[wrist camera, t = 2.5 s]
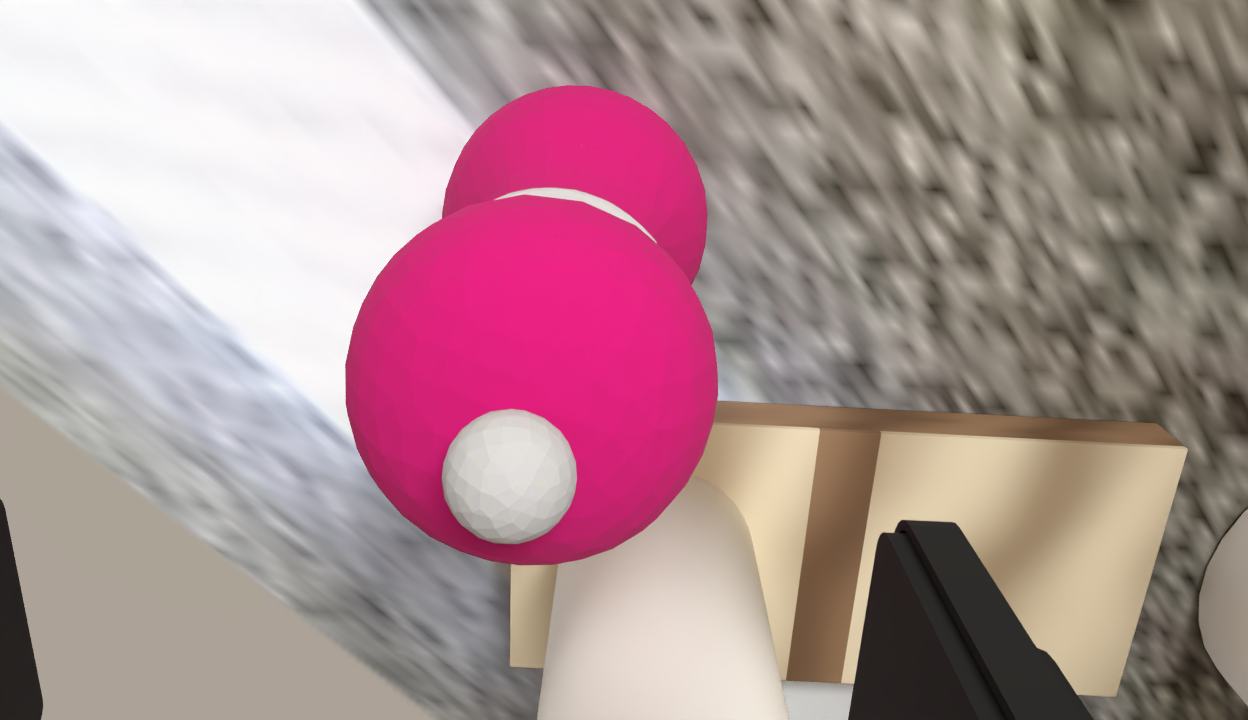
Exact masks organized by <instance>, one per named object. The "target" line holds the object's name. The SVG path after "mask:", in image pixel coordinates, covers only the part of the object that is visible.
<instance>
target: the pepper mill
mask: <svg viewBox="0 0 1248 720" xmlns="http://www.w3.org/2000/svg"><path fill="white" fill-rule="evenodd" d="M706 230H707V206H706V197H705V189H704V186H703V183H702V180H701V177H700V174H699V171H698V168H697V165H696V163H695V161H694V160H693V158H692V156H691V154H690V152H689V151H688V149H687V147H686V145H685V143H684V142H683V141H682V140H681V138H680V137H679V136H678V135H677V134H676V133H675V131H674V130H673V129H672V128H671V127H670V126H669V124H668V123H667V122H665V121H664V120H663V119H662V118H661V117H659V116H658V115H657V114H656V113H654V112H653V111H652V110H651V109H649V108H647V107H646V106H644V105H642V104H641V103H639V102H637V101H635V100H634V99H632V98H630V97H627V96H624V95H622V94H619V93H616V92H614V91H611V90H606V89H601V88H596V87H591V86H569V85H568V86H560V87H552V88H546V89H542V90H539V91H536V92H532V93H529V94H526V95H524V96H522V97H520V98H518V99H516V100H514V101H512V102H510V103H508V104H506V105H505V106H503V107H502V108H501V109H499V110H498V111H496V112H495V113H494V114H492V115H491V116H490V117H489V118H488V119H487V120H486V121H485V122H484V123H483V124H482V125H481V126H480V127H479V128H478V129H477V130H476V131H475V132H474V134H473V135H472V136H471V138H470V139H469V141H468V142H467V143H466V145H465V146H464V148H463V150H462V152H461V154H460V156H459V158H458V160H457V162H456V164H455V166H454V169H453V172H452V175H451V177H450V180H449V183H448V186H447V188H446V193H445V199H444V206H443V212H442V219H441V220H440V221H438V222H436V223H434V224H432V225H430V226H429V227H427V228H426V229H425V230H423V231H422V232H420V233H419V234H417V235H416V236H415V237H414V238H413V239H412V240H410V241H409V242H408V243H407V244H406V245H405V246H404V247H403V248H401V249H400V250H399V251H398V252H397V253H396V254H395V255H394V256H393V257H392V258H391V260H390V261H389V262H388V264H387V265H386V266H385V267H384V269H383V270H382V271H381V272H380V274H379V275H378V276H377V278H376V280H375V281H374V283H373V285H372V287H371V289H370V291H369V292H368V294H367V296H366V298H365V300H364V301H363V303H362V306H361V308H360V311H359V314H358V316H357V319H356V322H355V324H354V327H353V331H352V336H351V341H350V345H349V350H348V355H347V360H346V364H345V368H346V407H347V413H348V417H349V421H350V425H351V428H352V432H353V436H354V439H355V443H356V447H357V450H358V452H359V454H360V456H361V458H362V460H363V462H364V464H365V466H366V468H367V470H368V472H369V474H370V475H371V477H372V478H373V480H374V481H375V483H376V484H377V486H378V487H379V488H380V490H381V491H382V492H383V493H384V494H385V496H386V497H387V498H388V499H389V501H390V502H391V503H392V504H393V505H394V506H395V508H396V509H397V510H398V511H399V512H400V513H401V514H402V515H403V516H404V517H405V518H407V519H408V520H409V521H410V522H412V523H413V524H414V525H416V526H417V527H418V528H419V529H421V530H422V531H423V532H425V533H426V534H427V535H428V536H430V537H432V538H434V539H436V540H438V541H440V542H442V543H444V544H446V545H448V546H450V547H452V548H454V549H457V550H459V551H461V552H464V553H467V554H470V555H473V556H477V557H480V558H483V559H486V560H490V561H496V562H501V563H507V564H513V565H555V564H561V563H566V562H571V561H576V560H582V559H585V558H588V557H590V556H593V555H596V554H599V553H602V552H605V551H608V550H611V549H613V548H615V547H617V546H618V545H620V544H622V543H623V542H625V541H627V540H629V539H630V538H632V537H634V536H635V535H637V534H639V533H640V532H642V531H643V530H644V529H646V528H647V527H648V526H649V525H650V524H651V523H653V522H654V521H655V520H656V519H657V518H658V517H659V516H660V515H661V514H662V512H663V511H664V510H665V509H666V508H667V507H668V506H669V505H670V503H671V502H672V501H673V500H674V499H675V498H676V496H677V495H678V494H679V493H680V492H681V491H682V489H683V488H684V487H685V486H686V485H687V483H688V481H689V479H690V477H691V476H692V474H693V472H694V470H695V468H696V467H697V465H698V463H699V461H700V459H701V457H702V456H703V453H704V450H705V447H706V444H707V441H708V438H709V435H710V432H711V429H712V426H713V423H714V417H715V410H716V404H717V397H718V373H717V362H716V354H715V347H714V339H713V332H712V329H711V326H710V324H709V321H708V319H707V316H706V314H705V311H704V309H703V307H702V305H701V303H700V300H699V298H698V297H697V295H696V293H695V291H694V289H693V287H692V286H691V285H692V283H693V281H694V279H695V277H696V275H697V273H698V271H699V268H700V264H701V260H702V256H703V252H704V248H705V242H706Z"/></svg>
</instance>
